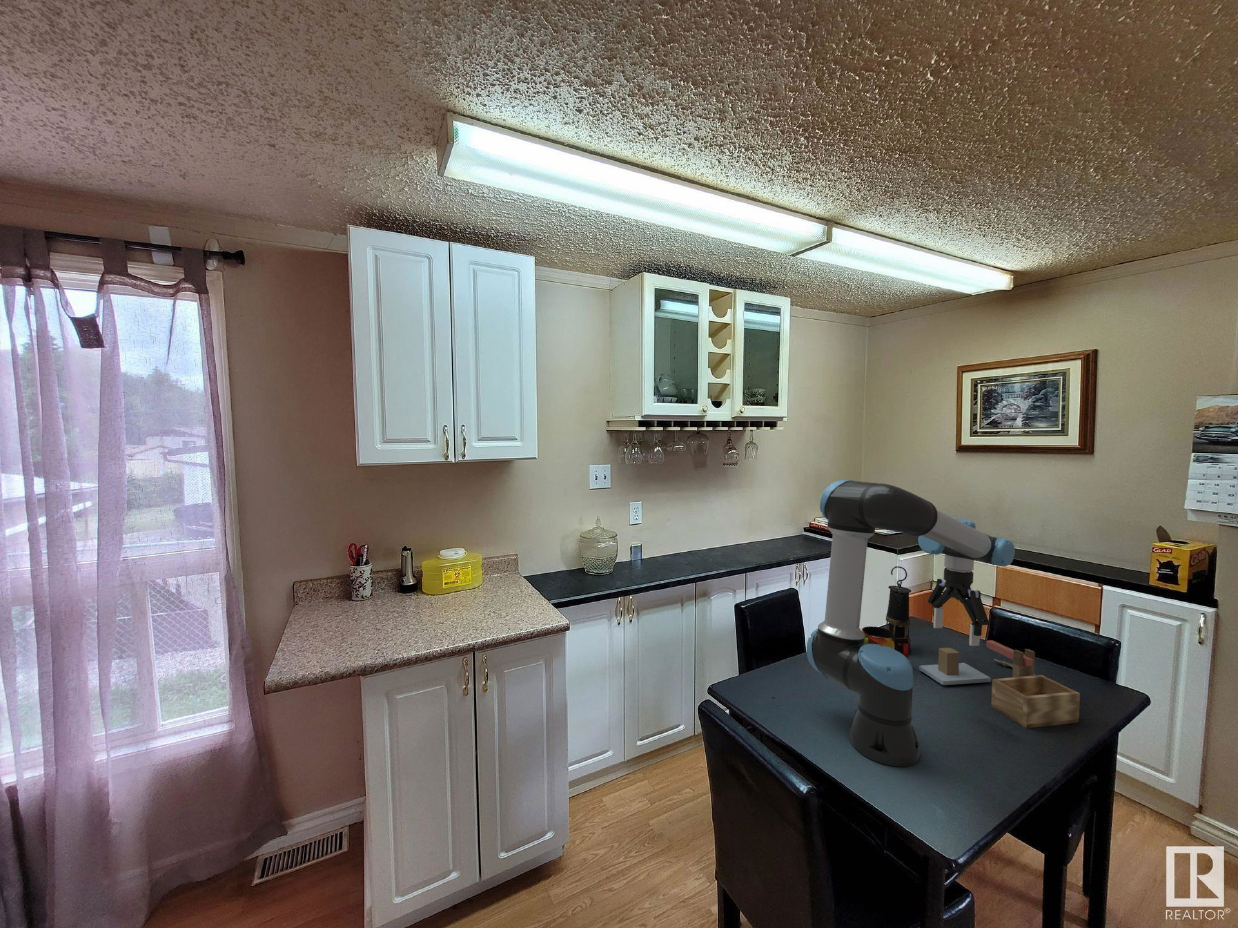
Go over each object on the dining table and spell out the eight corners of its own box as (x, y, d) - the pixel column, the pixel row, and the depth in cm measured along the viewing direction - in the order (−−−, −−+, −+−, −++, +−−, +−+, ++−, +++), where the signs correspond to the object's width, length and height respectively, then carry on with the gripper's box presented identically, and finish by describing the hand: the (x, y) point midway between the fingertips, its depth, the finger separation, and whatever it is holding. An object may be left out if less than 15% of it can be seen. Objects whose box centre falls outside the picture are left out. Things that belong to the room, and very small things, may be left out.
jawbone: (1021, 666, 160) (1022, 660, 160) (1071, 701, 140) (1072, 694, 140) (992, 663, 161) (993, 657, 161) (1038, 697, 141) (1038, 690, 141)
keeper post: (1018, 697, 140) (1020, 652, 139) (1011, 693, 142) (1013, 649, 141) (1033, 696, 140) (1035, 651, 140) (1026, 692, 142) (1028, 648, 142)
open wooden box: (1026, 728, 125) (1027, 698, 125) (991, 706, 135) (992, 679, 135) (1078, 722, 127) (1079, 693, 127) (1040, 701, 137) (1041, 674, 137)
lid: (942, 688, 146) (943, 658, 145) (918, 672, 156) (919, 644, 155) (990, 684, 147) (991, 655, 147) (964, 669, 157) (965, 641, 157)
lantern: (901, 657, 165) (903, 571, 164) (876, 647, 173) (878, 565, 172) (916, 651, 170) (918, 568, 168) (891, 642, 178) (893, 562, 176)
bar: (1026, 666, 139) (1026, 659, 138) (986, 646, 151) (986, 640, 151) (1032, 665, 139) (1032, 658, 139) (991, 646, 152) (992, 640, 152)
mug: (908, 667, 158) (909, 632, 157) (881, 677, 152) (882, 640, 151) (881, 655, 167) (882, 622, 166) (854, 664, 161) (855, 629, 160)
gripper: (1006, 580, 138) (1002, 652, 139) (937, 559, 162) (934, 620, 163) (983, 580, 137) (979, 654, 137) (917, 559, 161) (914, 621, 162)
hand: (955, 636), depth 150 cm, fingers open, 13 cm apart
